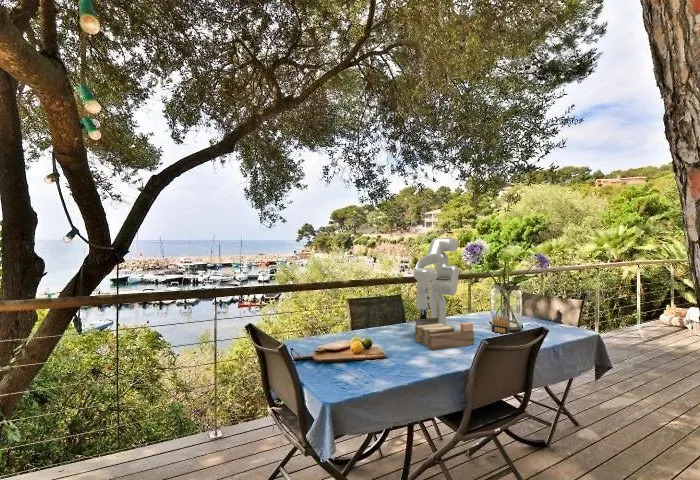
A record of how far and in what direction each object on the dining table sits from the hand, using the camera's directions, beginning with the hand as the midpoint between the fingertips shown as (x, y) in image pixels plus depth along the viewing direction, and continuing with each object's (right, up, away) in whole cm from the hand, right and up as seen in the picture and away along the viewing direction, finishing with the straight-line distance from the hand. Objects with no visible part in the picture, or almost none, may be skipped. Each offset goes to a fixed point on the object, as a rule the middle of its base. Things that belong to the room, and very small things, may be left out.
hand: (423, 320), depth 261 cm
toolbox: (+9, -11, -10) cm, 18 cm away
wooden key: (+22, -3, -14) cm, 26 cm away
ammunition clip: (+49, -10, +10) cm, 51 cm away
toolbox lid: (+5, -2, -10) cm, 11 cm away
